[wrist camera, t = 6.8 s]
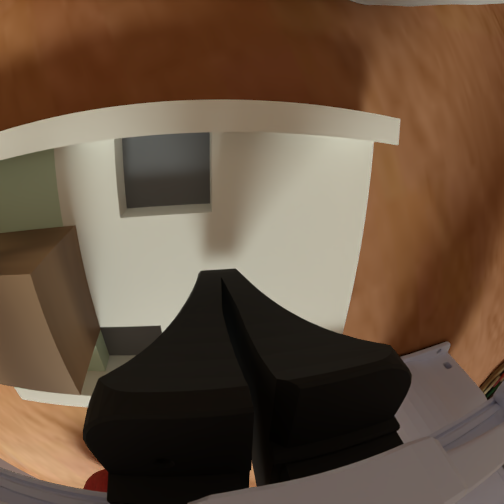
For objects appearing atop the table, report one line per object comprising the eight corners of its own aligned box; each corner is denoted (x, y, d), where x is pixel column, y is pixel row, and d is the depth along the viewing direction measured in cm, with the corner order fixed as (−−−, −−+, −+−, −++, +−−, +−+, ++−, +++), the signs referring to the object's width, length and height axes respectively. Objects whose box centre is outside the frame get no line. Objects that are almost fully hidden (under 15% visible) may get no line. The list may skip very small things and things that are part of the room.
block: (75, 225, 10) (30, 274, 7) (100, 329, 12) (80, 395, 9) (-13, 234, 9) (-64, 276, 6) (18, 326, 11) (-13, 381, 8)
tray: (357, 116, 12) (400, 119, 9) (325, 347, 17) (346, 384, 14) (-23, 144, 9) (-64, 155, 6) (37, 361, 14) (22, 399, 11)
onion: (75, 451, 18) (67, 525, 11) (131, 453, 19) (131, 535, 12) (103, 477, 21) (101, 541, 14) (154, 478, 22) (159, 546, 15)
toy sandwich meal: (521, 338, 28) (539, 356, 24) (508, 378, 34) (522, 393, 30) (463, 395, 29) (481, 418, 25) (459, 423, 35) (472, 441, 31)
